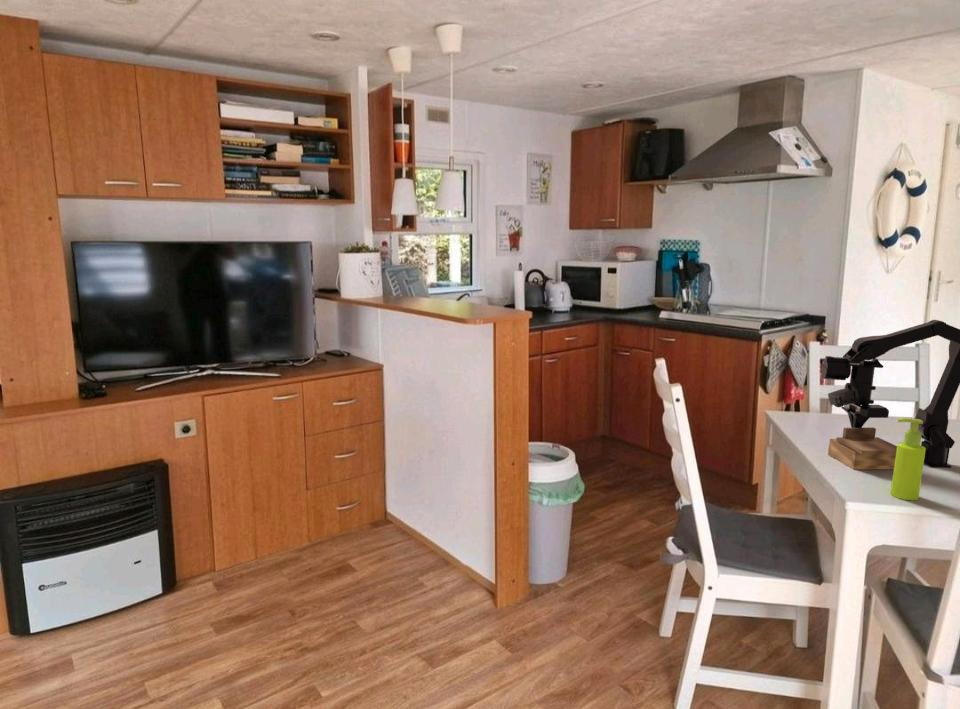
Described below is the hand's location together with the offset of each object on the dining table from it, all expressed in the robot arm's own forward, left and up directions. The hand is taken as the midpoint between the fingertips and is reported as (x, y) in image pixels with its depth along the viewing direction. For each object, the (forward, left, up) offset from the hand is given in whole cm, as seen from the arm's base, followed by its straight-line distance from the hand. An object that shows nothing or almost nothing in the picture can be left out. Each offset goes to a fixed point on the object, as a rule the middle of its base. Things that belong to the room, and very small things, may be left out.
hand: (854, 432), depth 189 cm
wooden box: (0, +5, -7) cm, 9 cm away
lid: (0, +7, -2) cm, 7 cm away
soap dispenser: (+6, +29, -7) cm, 31 cm away
